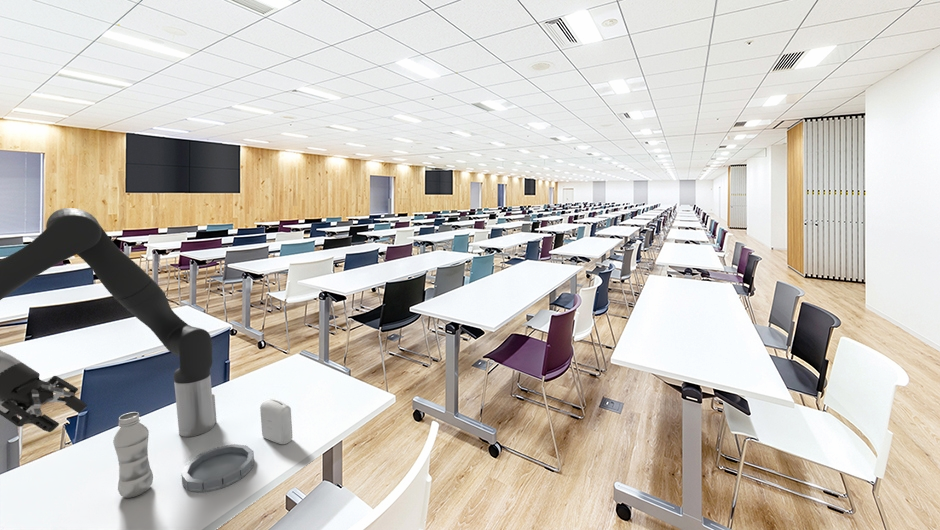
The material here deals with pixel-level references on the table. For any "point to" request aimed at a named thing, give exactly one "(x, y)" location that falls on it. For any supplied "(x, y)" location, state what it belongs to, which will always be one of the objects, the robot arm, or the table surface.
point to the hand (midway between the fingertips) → (70, 418)
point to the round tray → (217, 468)
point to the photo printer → (276, 421)
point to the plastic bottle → (132, 456)
